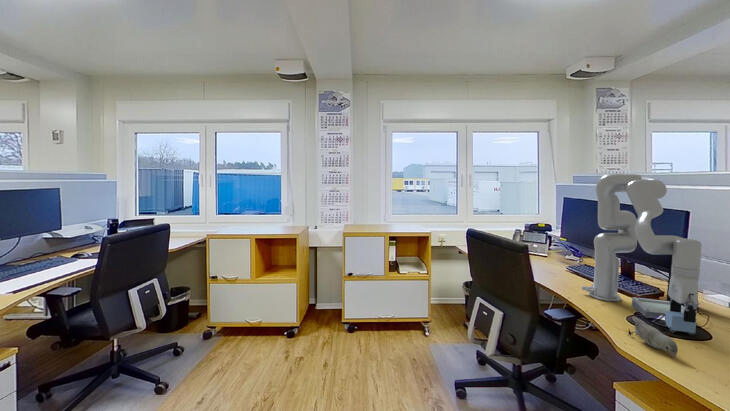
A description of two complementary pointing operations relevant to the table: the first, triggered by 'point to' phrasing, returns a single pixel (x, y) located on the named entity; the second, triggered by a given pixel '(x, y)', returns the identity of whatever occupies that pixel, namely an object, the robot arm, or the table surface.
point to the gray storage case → (679, 322)
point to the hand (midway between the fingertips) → (682, 316)
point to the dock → (652, 306)
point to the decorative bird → (654, 337)
